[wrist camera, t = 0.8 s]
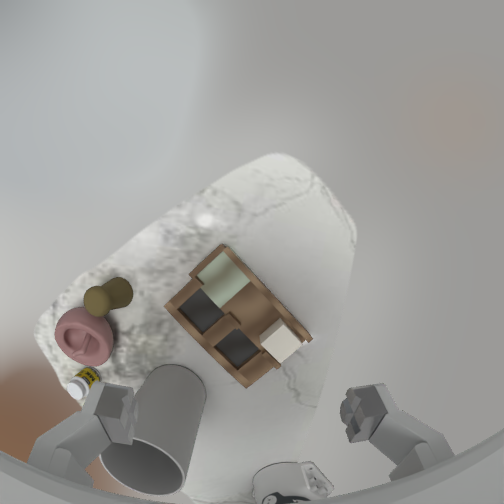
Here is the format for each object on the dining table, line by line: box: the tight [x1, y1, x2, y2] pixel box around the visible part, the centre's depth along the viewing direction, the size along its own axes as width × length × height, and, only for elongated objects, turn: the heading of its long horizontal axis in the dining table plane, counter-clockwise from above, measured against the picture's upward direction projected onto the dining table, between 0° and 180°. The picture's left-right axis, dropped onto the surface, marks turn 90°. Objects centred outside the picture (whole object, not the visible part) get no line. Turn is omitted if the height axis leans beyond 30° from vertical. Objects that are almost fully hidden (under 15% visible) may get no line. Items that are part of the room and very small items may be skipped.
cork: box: [84, 277, 133, 317], centre depth 47 cm, size 6×6×11 cm
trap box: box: [164, 244, 313, 388], centre depth 51 cm, size 23×16×4 cm
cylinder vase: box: [99, 365, 206, 496], centre depth 41 cm, size 12×12×25 cm
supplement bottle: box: [67, 367, 101, 400], centre depth 49 cm, size 5×5×8 cm
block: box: [260, 318, 303, 363], centre depth 49 cm, size 5×5×4 cm
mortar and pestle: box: [55, 307, 113, 366], centre depth 47 cm, size 12×12×12 cm
